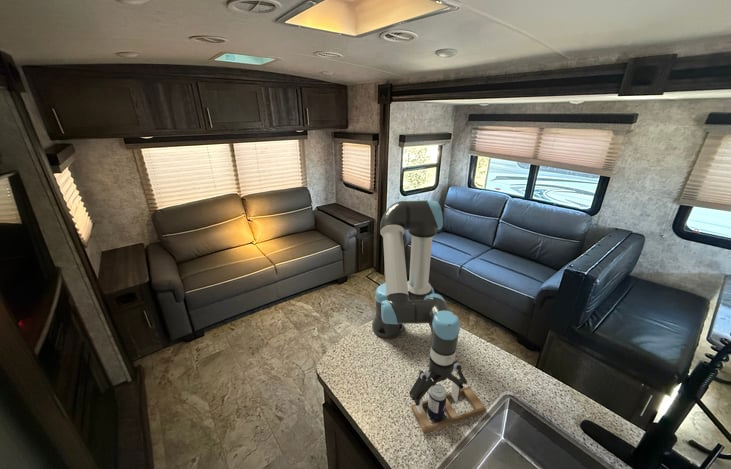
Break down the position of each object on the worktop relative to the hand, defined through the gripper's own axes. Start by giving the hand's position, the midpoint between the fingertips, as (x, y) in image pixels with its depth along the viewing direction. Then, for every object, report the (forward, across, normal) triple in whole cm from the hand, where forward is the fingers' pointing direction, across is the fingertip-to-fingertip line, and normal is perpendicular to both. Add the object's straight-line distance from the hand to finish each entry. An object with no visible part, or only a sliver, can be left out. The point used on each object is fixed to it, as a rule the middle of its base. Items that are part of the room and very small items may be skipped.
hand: (436, 403), depth 96 cm
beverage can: (+6, 0, 0) cm, 6 cm away
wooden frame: (+6, +5, 0) cm, 7 cm away
